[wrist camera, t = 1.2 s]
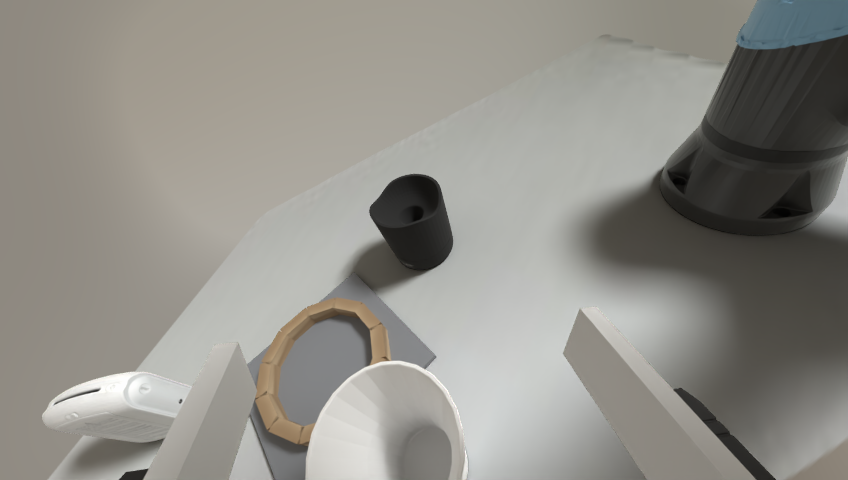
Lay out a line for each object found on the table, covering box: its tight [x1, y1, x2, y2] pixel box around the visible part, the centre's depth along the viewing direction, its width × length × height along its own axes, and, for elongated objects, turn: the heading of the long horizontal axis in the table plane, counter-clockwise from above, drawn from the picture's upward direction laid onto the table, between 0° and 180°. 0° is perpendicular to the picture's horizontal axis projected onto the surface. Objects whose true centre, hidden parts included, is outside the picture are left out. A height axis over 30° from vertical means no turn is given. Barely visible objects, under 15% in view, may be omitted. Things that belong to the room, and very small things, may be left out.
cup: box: [305, 361, 468, 480], centre depth 24 cm, size 10×10×14 cm
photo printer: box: [42, 372, 192, 443], centre depth 35 cm, size 10×4×12 cm, turn 100°
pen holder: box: [369, 174, 453, 270], centre depth 43 cm, size 9×9×10 cm
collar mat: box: [247, 272, 436, 480], centre depth 38 cm, size 20×18×1 cm
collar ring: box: [255, 297, 391, 446], centre depth 37 cm, size 16×16×2 cm
